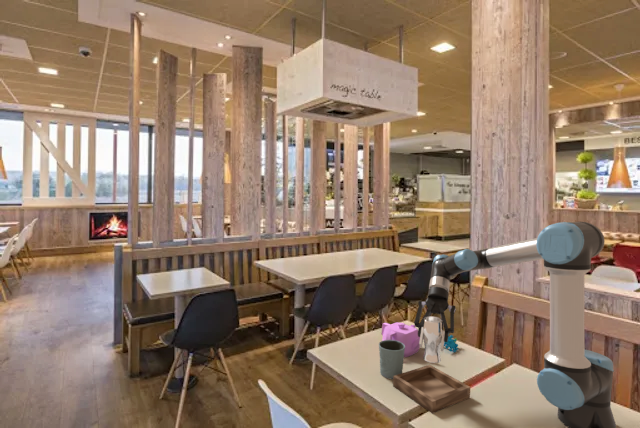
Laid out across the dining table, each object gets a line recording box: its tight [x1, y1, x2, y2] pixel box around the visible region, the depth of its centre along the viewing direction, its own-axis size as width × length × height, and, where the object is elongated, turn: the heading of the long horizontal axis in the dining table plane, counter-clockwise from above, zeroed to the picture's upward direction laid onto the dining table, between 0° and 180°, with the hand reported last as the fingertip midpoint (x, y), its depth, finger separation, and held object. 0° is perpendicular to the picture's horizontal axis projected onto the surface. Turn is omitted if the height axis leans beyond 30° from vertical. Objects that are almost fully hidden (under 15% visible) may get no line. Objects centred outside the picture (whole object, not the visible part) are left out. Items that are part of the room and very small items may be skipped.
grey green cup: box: [378, 340, 405, 380], centre depth 147 cm, size 10×10×12 cm
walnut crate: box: [392, 364, 471, 414], centre depth 135 cm, size 19×19×4 cm
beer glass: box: [422, 315, 444, 364], centre depth 134 cm, size 7×7×15 cm
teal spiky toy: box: [444, 333, 459, 353], centre depth 173 cm, size 11×6×10 cm
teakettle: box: [380, 321, 424, 358], centre depth 170 cm, size 17×17×12 cm
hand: (431, 347), depth 130 cm, fingers closed on beer glass, 7 cm apart
